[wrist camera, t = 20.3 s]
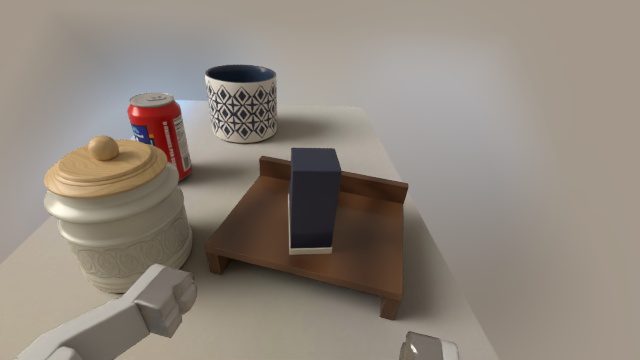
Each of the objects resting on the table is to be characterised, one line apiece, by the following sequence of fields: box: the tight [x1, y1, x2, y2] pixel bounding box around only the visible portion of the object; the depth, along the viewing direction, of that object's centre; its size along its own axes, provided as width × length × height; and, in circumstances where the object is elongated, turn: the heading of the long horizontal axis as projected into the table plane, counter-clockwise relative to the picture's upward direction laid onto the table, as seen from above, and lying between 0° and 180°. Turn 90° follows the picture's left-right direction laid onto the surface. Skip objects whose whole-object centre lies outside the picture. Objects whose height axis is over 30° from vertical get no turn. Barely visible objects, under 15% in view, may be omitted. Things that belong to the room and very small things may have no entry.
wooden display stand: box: [205, 156, 408, 320], centre depth 42 cm, size 24×18×8 cm
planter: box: [205, 65, 277, 143], centre depth 71 cm, size 16×16×14 cm
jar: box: [44, 136, 192, 293], centre depth 35 cm, size 13×13×18 cm
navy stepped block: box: [288, 148, 342, 255], centre depth 37 cm, size 5×11×12 cm, turn 6°
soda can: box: [128, 93, 192, 180], centre depth 52 cm, size 8×8×15 cm
